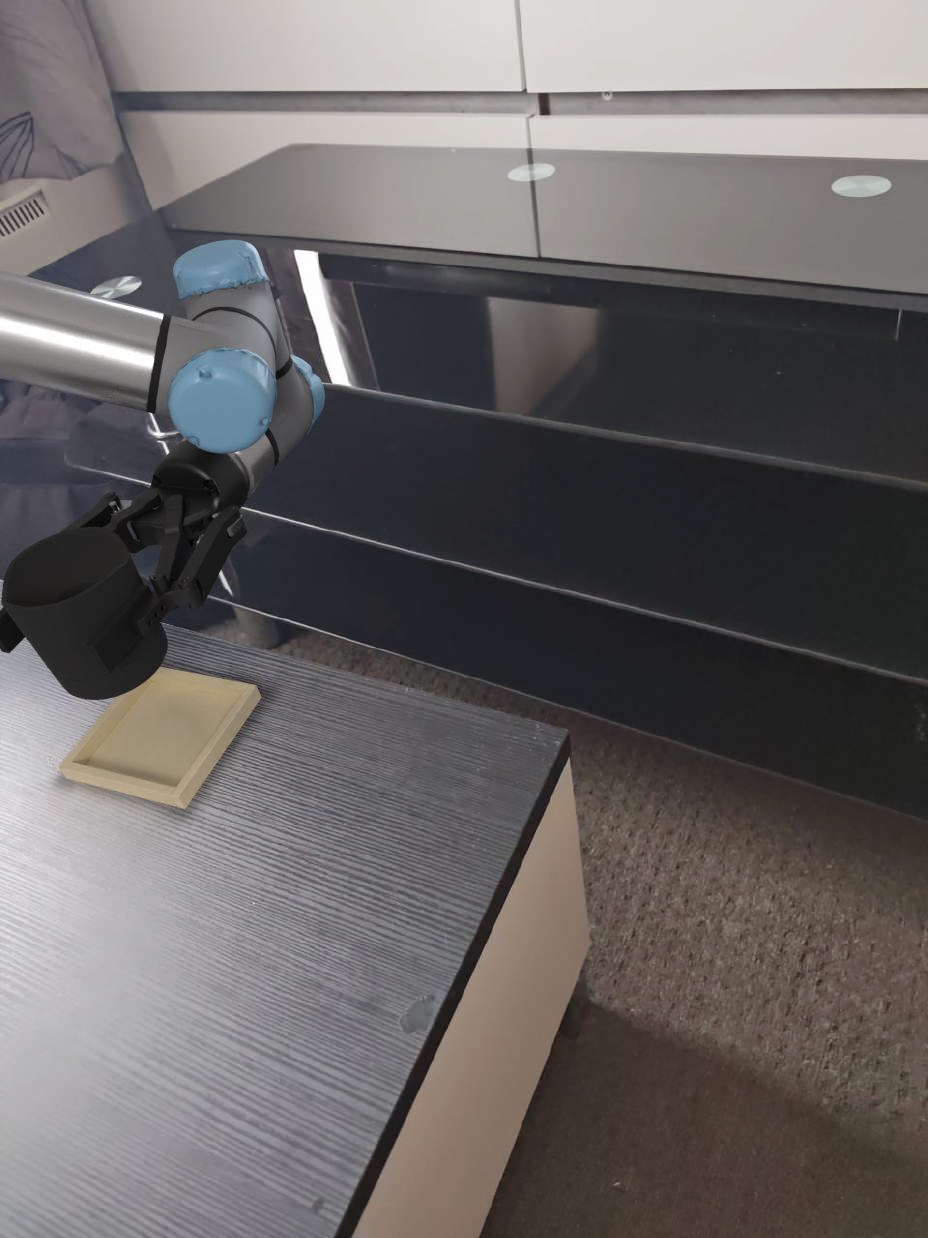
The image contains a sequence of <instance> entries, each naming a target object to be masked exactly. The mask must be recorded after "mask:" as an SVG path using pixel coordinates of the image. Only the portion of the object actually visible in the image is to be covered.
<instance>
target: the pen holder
mask: <svg viewBox="0 0 928 1238" xmlns="http://www.w3.org/2000/svg"><path fill="white" fill-rule="evenodd" d="M59 532H60V531H59ZM59 532H57V533H54V534H52V535H50V536H47V537H45V538H42V539H40V540H38V541H37V542H34V543H33V544H32V545H30V546H28V547H27V548H25V549H23V550H22V551H21V552H20V553H19V554H17V555H16V556H15V557H14V558H13V559H12V561H10V563H9V565H8V566H7V568H6V571H5V574H4V577H3V582H2V590H1V597H0V604H1V606H2V608H3V607H4V608H5V610H6V611H7V613H8V614H9V615H10V617H11V618H12V619H13V621H14V622H15V624H16V625H17V626H18V628H19V629H20V630H21V632H22V633H23V635H24V636H25V639H26V640H27V642H28V643H29V644H30V646H31V647H32V649H33V650H34V651H35V652H36V655H38V656H39V658H40V659H41V661H42V662H43V664H45V666H46V667H47V669H48V670H49V671H50V673H51V674H52V675H53V677H54V678H55V680H57V682H58V684H60V686H61V687H62V688H63V689H64V690H65V691H66V692H67V694H69V695H71V696H73V697H75V698H77V699H82V700H87V701H105V700H110V699H115V698H116V697H117V696H120V695H123V694H125V693H127V692H129V691H131V690H133V689H135V688H137V687H139V686H140V685H141V684H143V683H144V682H146V681H147V680H148V679H149V678H150V677H151V676H152V675H153V674H154V673H155V672H156V671H157V670H158V669H159V667H162V664H163V662H164V661H165V658H166V656H167V652H168V648H169V641H168V636H167V634H166V631H165V629H164V626H163V624H162V622H161V621H160V622H159V623H158V625H157V626H155V628H154V629H153V631H152V632H151V633H149V634H148V635H146V636H142V637H141V638H140V639H139V640H138V641H137V642H136V644H135V645H134V646H133V647H132V648H131V649H130V651H129V652H128V653H127V654H126V655H125V656H124V657H123V659H122V660H121V661H120V662H119V663H118V664H117V666H116V667H115V668H114V669H113V670H112V671H111V673H105V672H101V670H100V668H99V667H98V665H97V663H96V662H95V660H94V658H93V657H92V655H91V653H90V652H89V650H88V648H87V647H86V643H87V642H88V641H89V640H90V639H91V638H92V637H93V636H94V635H95V634H96V632H97V631H98V630H99V629H100V628H101V627H102V626H103V625H104V624H105V623H106V622H107V620H108V619H109V618H110V617H111V616H112V615H113V614H114V613H115V612H116V611H117V610H118V609H119V608H120V607H121V606H122V605H123V604H124V603H125V602H126V601H127V600H128V599H129V597H130V596H131V595H132V593H133V592H134V591H135V590H136V589H137V587H138V586H139V585H140V584H141V585H145V583H144V582H143V579H142V577H141V574H140V571H139V570H138V568H137V566H136V563H135V561H134V559H133V556H132V554H131V553H130V552H129V550H128V548H127V547H126V545H125V543H124V542H123V540H122V539H121V538H120V537H119V536H118V535H117V534H116V533H114V532H113V531H111V530H108V529H106V528H101V527H82V528H76V529H71V530H67V531H63V532H60V533H59Z"/></svg>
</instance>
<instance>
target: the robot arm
mask: <svg viewBox="0 0 928 1238" xmlns="http://www.w3.org/2000/svg"><path fill="white" fill-rule="evenodd" d="M172 275H173V279H174V281H175V284H176V289H177V291H178V294H177V297H178V300H179V301H180V302H181V304H182V305H183V308H184V311H185V313H186V318H182V317H179V316H176V315H175V316H174V315H171V314H166V313H164V312H160V311H156V310H153V309H149V308H145V307H142V306H138V305H134V304H131V303H126V302H123V301H120V300H116V299H112V298H108V297H105V296H101V295H97V294H94V293H89V292H86V291H82V290H78V289H75V288H71V287H67V286H63V285H60V284H57V283H52V282H49V281H44V280H41V279H37V278H34V277H30V276H26V275H24V274H19V273H16V272H12V271H8V270H4V269H0V379H2V380H5V381H10V382H13V383H17V384H23V385H28V386H31V387H36V388H41V389H44V390H49V391H53V392H58V393H62V394H66V395H71V396H76V397H80V398H84V399H88V400H93V401H98V402H101V403H106V404H109V405H114V406H119V407H123V408H128V409H133V410H137V411H140V412H144V413H147V414H153V415H157V416H160V417H163V418H168V419H171V421H172V423H173V425H174V427H175V429H176V430H177V432H178V433H179V434H180V435H181V437H183V438H182V440H181V441H180V442H178V443H177V444H176V445H175V446H174V447H173V448H172V449H171V450H170V451H169V452H168V453H167V454H166V455H165V456H164V457H163V458H162V459H161V460H160V461H159V462H158V463H157V464H156V466H155V468H154V470H153V473H152V478H151V481H150V486H149V488H148V489H146V490H145V491H143V492H141V493H140V494H137V495H136V496H134V497H133V498H132V499H120V497H119V495H118V493H117V492H116V491H110V492H107V493H105V494H104V495H103V496H102V498H100V500H99V501H98V502H97V503H96V504H95V505H94V507H93V508H91V509H90V510H88V511H87V512H86V513H83V515H81V516H79V517H78V518H77V519H76V520H74V521H73V522H72V523H70V524H69V525H66V527H64V528H63V529H61V530H60V531H58V533H60V532H63V531H67V530H71V529H76V528H82V527H101V528H106V529H108V530H111V531H113V532H114V533H116V534H117V535H118V536H119V537H120V538H121V539H122V540H123V542H124V543H125V545H126V547H127V548H128V550H129V552H130V554H131V555H133V554H137V553H138V552H141V551H142V550H143V551H144V549H146V548H148V547H150V546H160V547H161V549H160V553H159V556H158V560H157V564H156V568H155V573H154V574H153V575H148V580H149V581H150V583H151V585H152V587H153V590H151V587H150V586H149V585H148V584H144V585H141V584H140V585H139V586H138V587H137V589H136V590H135V591H134V592H133V593H132V595H131V596H130V597H129V599H128V600H127V601H126V602H125V603H124V604H123V605H122V606H121V607H120V608H119V609H118V610H117V611H116V612H115V613H114V614H113V615H112V616H111V617H110V618H109V619H108V620H107V622H106V623H105V624H104V625H103V626H102V627H101V628H100V629H99V630H98V631H97V632H96V634H95V635H94V636H93V637H92V638H91V639H90V640H89V641H88V642H87V643H86V647H87V648H88V650H89V652H90V653H91V655H92V657H93V658H94V660H95V662H96V663H97V665H98V667H99V668H100V670H101V672H105V673H111V671H112V670H113V669H114V668H115V667H116V666H117V664H118V663H119V662H120V661H121V660H122V659H123V657H124V656H125V655H126V654H127V653H128V652H129V651H130V649H131V648H132V647H133V646H134V645H135V644H136V642H137V641H138V640H139V639H140V638H141V637H142V636H146V635H148V634H149V633H151V632H152V631H153V629H154V628H155V626H157V625H158V623H159V622H161V621H162V620H163V619H164V618H165V617H166V616H167V614H168V613H169V612H174V611H176V610H177V609H179V608H180V606H188V608H189V609H191V610H196V609H199V608H201V607H202V606H203V605H204V604H205V602H206V600H207V599H208V596H209V594H210V593H211V590H212V588H213V586H214V585H215V582H216V581H217V579H218V577H219V575H220V573H221V571H222V570H223V567H224V565H225V563H226V561H227V560H228V558H229V556H230V554H231V552H232V550H233V548H234V547H235V546H236V545H237V544H238V543H239V542H240V541H241V540H242V539H243V538H244V537H245V536H246V535H247V534H248V529H247V527H246V524H245V522H244V519H243V516H242V514H241V512H240V510H241V509H242V507H243V506H244V505H245V504H246V502H247V500H248V499H250V497H251V496H253V494H254V493H255V492H256V491H257V489H259V487H260V486H261V485H262V484H263V482H265V481H266V479H267V478H268V477H269V476H270V475H271V473H272V472H274V470H275V469H276V468H277V467H278V466H279V464H281V462H282V461H283V460H284V459H285V458H286V457H288V455H289V454H290V453H291V451H292V450H293V449H294V448H295V447H296V446H297V445H298V444H299V443H300V442H301V441H302V440H303V439H305V437H307V435H308V434H309V433H310V431H311V430H312V428H313V425H314V424H315V423H316V421H317V420H318V418H319V417H320V415H321V414H322V412H323V410H324V407H325V403H326V392H325V388H324V385H323V382H322V380H321V378H320V377H319V376H318V375H317V374H316V373H315V372H314V370H313V368H312V366H311V365H310V364H309V363H308V362H306V361H305V360H304V359H302V358H300V357H299V356H296V355H294V354H291V353H290V351H289V347H288V345H287V340H286V337H285V333H284V330H283V327H282V323H281V320H280V316H279V313H278V310H277V307H276V303H275V300H274V296H273V293H272V288H271V285H270V282H271V280H270V277H269V275H267V273H266V271H265V267H264V265H263V262H262V259H261V256H260V254H259V251H258V250H257V249H256V247H255V245H253V244H252V243H250V242H247V241H244V240H240V239H225V240H217V241H212V242H208V243H205V244H202V245H199V246H196V247H194V248H192V249H190V250H188V251H186V252H185V253H183V254H182V255H180V256H179V257H178V258H177V259H176V261H175V262H174V264H173V267H172ZM129 522H130V523H129ZM128 523H129V524H130V527H131V529H132V532H133V533H134V536H135V537H136V538H134V537H133V534H132V533H131V531H130V528H129V527H128ZM200 537H201V538H200ZM24 639H26V637H25V636H24V635H23V633H22V632H21V630H20V629H19V628H18V626H17V625H16V624H15V622H14V621H13V619H12V618H11V617H10V615H9V614H8V613H7V611H6V610H5V608H4V607H3V606H2V608H0V651H1V652H2V653H5V654H11V653H12V652H13V651H14V650H15V648H17V647H18V646H19V644H21V642H23V640H24Z"/></svg>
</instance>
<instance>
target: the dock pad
mask: <svg viewBox="0 0 928 1238" xmlns="http://www.w3.org/2000/svg"><path fill="white" fill-rule="evenodd" d="M262 697H263V696H262V695H261V692H260V690H259V688H258V685H256V684H254V683H253V684H252V683H248V682H242V681H238V680H237V681H236V680H232V679H228V678H227V679H226V678H221V677H216V676H212V675H211V676H210V675H206V674H200V673H196V672H195V673H194V672H190V671H185V670H179V669H174V668H168V667H162V666H160V667H159V669H158V670H157V671H156V672H155V673H154V674H153V675H152V676H151V677H150V678H149V679H148V680H147V681H146V682H144V683H143V684H141V685H140V686H139V687H137V688H135V689H133V690H131V691H129V692H127V693H125V694H123V695H120V696H117V697H114V698H113V700H112V701H111V703H110V704H109V706H107V707H106V709H105V710H104V711H103V712H102V714H101V715H100V716H99V717H98V719H96V721H95V722H94V723H93V725H92V726H91V727H90V728H89V729H88V730H87V732H86V733H85V734H84V735H83V736H82V737H81V739H80V740H79V741H78V742H77V743H76V745H75V746H74V747H73V748H72V749H71V751H70V752H69V753H68V754H67V756H66V757H65V758H64V759H63V760H62V762H61V763H60V764H59V766H58V769H59V770H60V771H61V773H62V774H63V776H64V778H65V779H67V780H71V781H75V782H78V783H82V784H86V785H90V786H95V787H97V788H102V789H104V790H105V789H106V790H109V791H114V792H118V793H121V794H125V795H128V796H132V797H137V798H141V799H144V800H148V801H152V802H156V803H160V804H164V805H168V806H172V807H175V808H176V807H177V808H180V809H183V810H185V809H186V808H187V807H188V806H189V804H190V803H191V801H192V799H193V798H194V797H195V795H196V794H197V792H198V791H199V789H200V788H201V786H202V785H203V784H204V782H205V781H206V779H207V778H208V776H209V775H210V773H211V772H212V771H213V769H214V768H215V766H216V764H217V763H218V762H219V760H220V759H221V757H222V756H223V754H224V753H225V752H226V750H227V748H228V747H229V746H230V744H231V743H232V742H233V740H234V738H235V737H236V736H237V734H238V733H239V731H240V730H241V728H242V727H243V725H245V722H246V721H247V719H248V718H249V717H250V715H251V713H252V712H253V711H254V709H255V708H256V706H257V705H258V703H259V702H260V700H261V699H262Z"/></svg>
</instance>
